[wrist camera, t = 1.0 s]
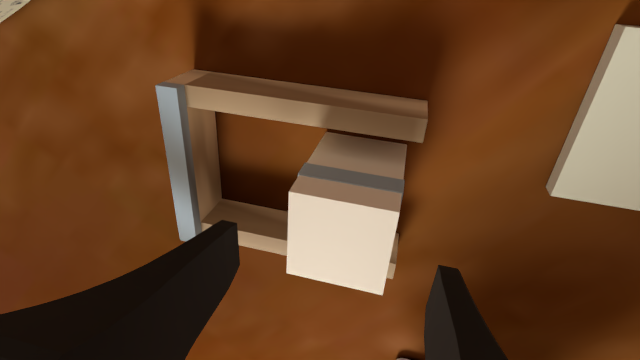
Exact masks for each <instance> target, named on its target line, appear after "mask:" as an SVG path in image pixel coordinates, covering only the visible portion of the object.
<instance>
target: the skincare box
mask: <svg viewBox="0 0 640 360" xmlns="http://www.w3.org/2000/svg"><path fill="white" fill-rule="evenodd" d="M29 1H30V0H0V23H1V22H2V21H3V20H4V19H6V18H8V17H9V16H10V15H12V14H13V13H14V12H16V11H17V10H19V9H20V8H21V7H23V6H24V5H25V4H26V3H28V2H29Z"/></svg>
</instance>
